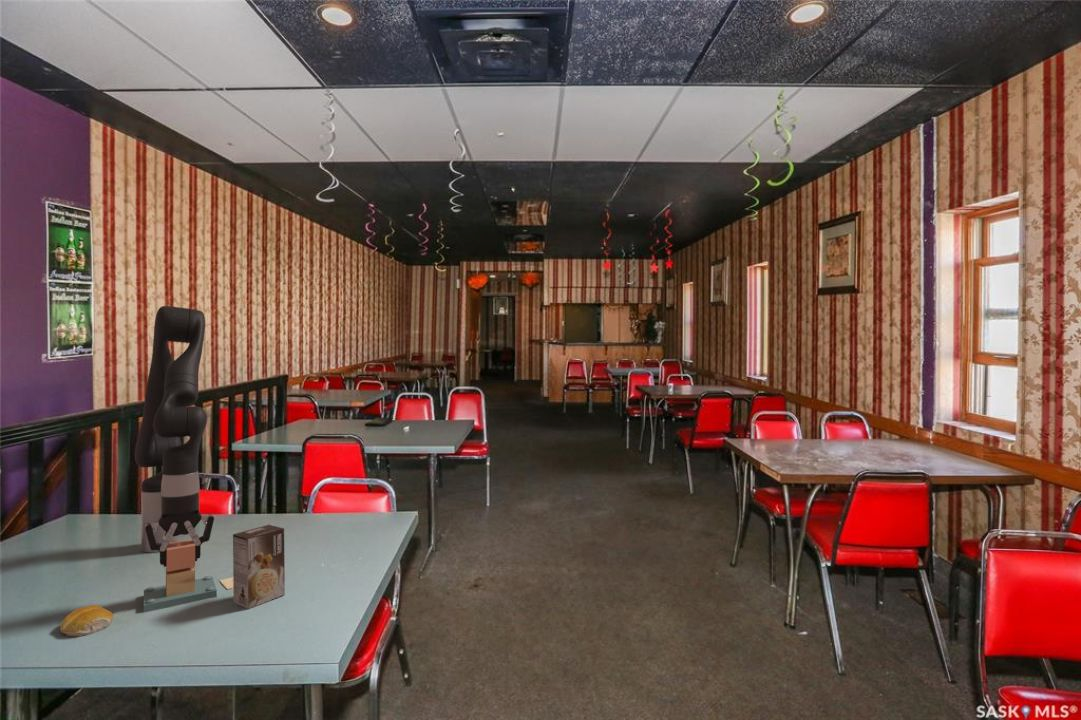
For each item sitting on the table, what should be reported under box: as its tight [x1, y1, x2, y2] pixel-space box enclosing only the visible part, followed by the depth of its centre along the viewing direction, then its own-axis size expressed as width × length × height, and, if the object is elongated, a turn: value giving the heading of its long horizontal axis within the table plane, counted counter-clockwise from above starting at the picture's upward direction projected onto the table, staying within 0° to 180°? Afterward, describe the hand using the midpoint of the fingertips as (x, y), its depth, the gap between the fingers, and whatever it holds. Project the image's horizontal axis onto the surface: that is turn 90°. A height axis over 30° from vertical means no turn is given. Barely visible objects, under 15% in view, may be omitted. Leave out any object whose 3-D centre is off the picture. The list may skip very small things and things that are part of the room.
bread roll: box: [60, 604, 114, 638], centre depth 116 cm, size 8×9×4 cm
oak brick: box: [165, 567, 196, 597], centre depth 131 cm, size 6×6×5 cm
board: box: [143, 575, 218, 613], centre depth 131 cm, size 10×14×2 cm
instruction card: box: [219, 576, 233, 591], centre depth 141 cm, size 7×10×1 cm
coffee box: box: [232, 524, 286, 610], centre depth 130 cm, size 9×6×16 cm
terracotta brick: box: [165, 538, 196, 572], centre depth 131 cm, size 6×6×5 cm
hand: (180, 562), depth 131 cm, fingers closed on terracotta brick, 5 cm apart
